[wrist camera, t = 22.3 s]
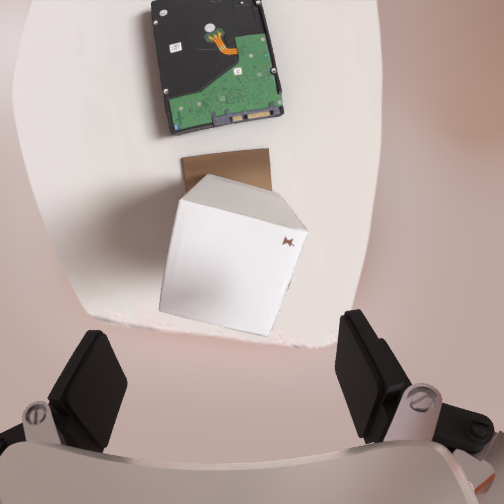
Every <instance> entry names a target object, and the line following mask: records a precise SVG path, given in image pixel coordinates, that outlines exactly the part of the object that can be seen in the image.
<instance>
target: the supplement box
mask: <svg viewBox="0 0 504 504" xmlns="http://www.w3.org/2000/svg"><path fill="white" fill-rule="evenodd" d="M308 235H309V231H308V229H307V228H306V227H305V226H304V224H303V223H302V222H301V220H300V219H299V218H298V216H297V215H296V214H295V212H294V211H293V210H292V209H291V207H290V206H289V205H288V203H287V202H286V201H285V200H284V198H283V197H282V196H281V194H279V193H276V192H272V191H269V190H266V189H262V188H259V187H256V186H252V185H249V184H245V183H242V182H238V181H234V180H231V179H227V178H223V177H219V176H215V175H211V174H207V175H206V176H205V177H203V178H202V179H201V180H200V181H199V182H198V183H197V184H196V185H195V186H194V187H193V188H192V189H191V190H190V191H189V192H187V193H186V194H185V195H184V196H183V197H182V198H181V199H180V200H179V202H178V206H177V210H176V214H175V218H174V223H173V227H172V232H171V237H170V242H169V247H168V252H167V258H166V264H165V270H164V276H163V282H162V288H161V295H160V303H159V311H161V312H165V313H168V314H172V315H176V316H180V317H183V318H187V319H192V320H196V321H199V322H204V323H208V324H212V325H216V326H221V327H225V328H229V329H233V330H238V331H242V332H246V333H250V334H255V335H260V336H264V337H268V336H269V335H270V334H271V332H272V329H273V327H274V325H275V322H276V319H277V317H278V314H279V312H280V309H281V307H282V304H283V301H284V299H285V296H286V294H287V291H288V289H289V287H290V284H291V281H292V278H293V275H294V272H295V270H296V267H297V264H298V261H299V259H300V256H301V253H302V251H303V248H304V245H305V242H306V240H307V238H308Z"/></svg>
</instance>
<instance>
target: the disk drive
mask: <svg viewBox="0 0 504 504" xmlns="http://www.w3.org/2000/svg"><path fill="white" fill-rule="evenodd" d="M151 9H152V11H151V14H152V21H153V26H154V35H155V41H156V50H157V56H158V63H159V69H160V76H161V77H160V78H161V82H162V89H163V94H164V102H165V109H166V114H167V117H168V123H169V128H170V133H171V134H172V135H181V134H185V133H189V132H194V131H198V130H203V129H208V128H213V127H218V126H222V125H226V124H232V123H239V122H245V121H251V120H257V119H263V118H271V117H278V116H281V115H283V114H284V108H283V102H282V96H281V93H282V89H281V84H280V80H279V77H278V73H277V67H276V63H275V57H274V53H273V48H272V44H271V40H270V35H269V31H268V27H267V23H266V18H265V15H264V10H263V7H262V2H261V0H155V1H152V2H151Z"/></svg>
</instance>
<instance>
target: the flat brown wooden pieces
mask: <svg viewBox="0 0 504 504" xmlns="http://www.w3.org/2000/svg"><path fill="white" fill-rule="evenodd" d="M183 167H184V175H185V183H186V191H187V192H189V191H190V190H191V189H192V188H193V187H194V186H195V185H196V184H197V183H198V182H199V181H200V180H201V179H202V178H203V177H205V176H206V175H207V174H211V175H215V176H219V177H223V178H227V179H231V180H234V181H238V182H242V183H245V184H249V185H252V186H256V187H259V188H262V189H266V190H269V191H272V184H271V171H270V159H269V148H267V149H254V150H243V151H233V152H224V153H215V154H207V155H199V156H192V157H185V158H183Z"/></svg>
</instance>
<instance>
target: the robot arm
mask: <svg viewBox="0 0 504 504" xmlns="http://www.w3.org/2000/svg"><path fill="white" fill-rule="evenodd" d="M335 372H336V375H337V378H338V381H339V383H340V386H341V389H342V392H343V394H344V397H345V400H346V402H347V405H348V408H349V411H350V414H351V417H352V419H353V422H354V425H355V428H356V431H357V434H358V436H359V438H364V440H365V443H366V444H368V443H372V442H374V443H373V444H368V445H364V446H359V447H353V448H349V449H344V450H339V451H334V452H329V453H324V454H318V455H311V456H305V457H298V458H290V459H282V460H273V461H262V462H248V463H217V464H208V463H207V464H206V463H177V462H163V461H152V460H143V459H135V458H128V457H121V456H115V455H109V454H104V453H103V450H104V448H106V447H107V445H108V442H109V439H110V436H111V433H112V430H113V427H114V424H115V421H116V418H117V415H118V412H119V409H120V406H121V403H122V400H123V397H124V394H125V391H126V388H127V379H126V377H125V375H124V373H123V371H122V369H121V366H120V364H119V362H118V360H117V358H116V356H115V354H114V351H113V349H112V347H111V345H110V342H109V340H108V338H107V336H106V334H103V332H102V331H100V330H89V331H87V332H86V334H85V335H84V337H83V339H82V340H81V342H80V343H79V345H78V346H77V348H76V350H75V351H74V353H73V355H72V356H71V358H70V359H69V361H68V363H67V365H66V366H65V368H64V370H63V371H62V373H61V375H60V376H59V378H58V380H57V382H56V383H55V385H54V387H53V389H52V391H51V393H50V394H49V396H48V400H49V401H50V402H49V404H47V403H46V402H43V401H37V402H34V403H32V404H30V405H29V406H28V407H27V408H26V409H25V410H24V412H23V415H22V421H23V423H21V424H19V425H17V426H15V427H13V428H11V429H9V430H6V431H5V432H2V433H0V504H504V433H503V432H502V431H499V432H498V433H497V432H495V431H494V426H493V423H492V421H491V420H490V419H489V418H488V417H487V416H485V415H483V414H479V413H476V412H472V411H469V410H465V409H462V408H458V407H455V406H451V405H448V404H445V403H442V397H441V394H440V393H439V391H438V390H437V389H436V388H435V387H433V386H431V385H429V384H424V383H420V384H419V383H418V384H414V385H412V384H411V382H410V380H409V379H408V377H407V375H406V374H405V372H404V370H403V369H402V367H401V365H400V364H399V362H398V360H397V359H396V357H395V355H394V354H393V352H392V350H391V349H390V347H389V346H388V344H387V343H386V341H385V340H384V339H382V338H380V339H379V338H378V337H377V335H376V333H375V332H374V330H373V329H372V327H371V326H370V324H369V322H368V321H367V319H366V318H365V316H364V315H363V313H362V311H361V310H360V309H357V310H351V311H346V312H345V314H344V315H343V316H341V317H340V324H339V334H338V344H337V353H336V360H335ZM469 481H470V482H471V483H472V484H473V486H474V489H475V490H474V491H473V489H472V487H471V484H470V482H469Z"/></svg>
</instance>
